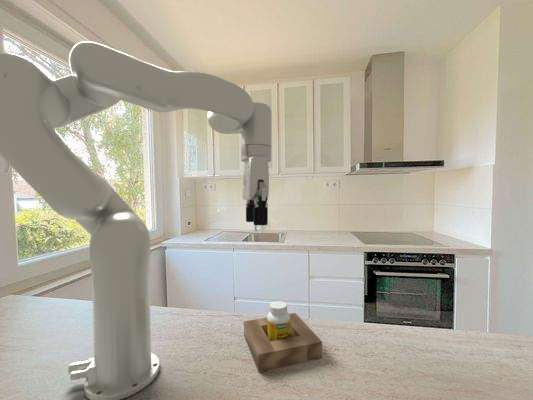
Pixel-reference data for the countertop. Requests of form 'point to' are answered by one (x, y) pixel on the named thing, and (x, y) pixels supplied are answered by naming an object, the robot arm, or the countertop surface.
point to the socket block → (281, 344)
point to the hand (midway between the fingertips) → (255, 223)
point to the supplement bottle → (278, 322)
